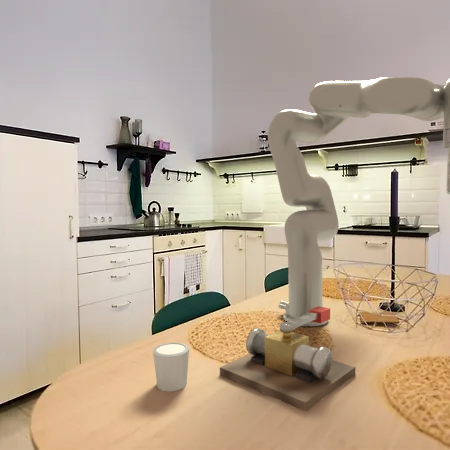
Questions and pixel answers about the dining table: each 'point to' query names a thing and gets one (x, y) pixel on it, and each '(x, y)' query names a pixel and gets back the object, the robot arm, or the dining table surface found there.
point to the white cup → (171, 366)
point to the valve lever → (306, 319)
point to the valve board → (286, 381)
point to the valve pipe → (289, 354)
